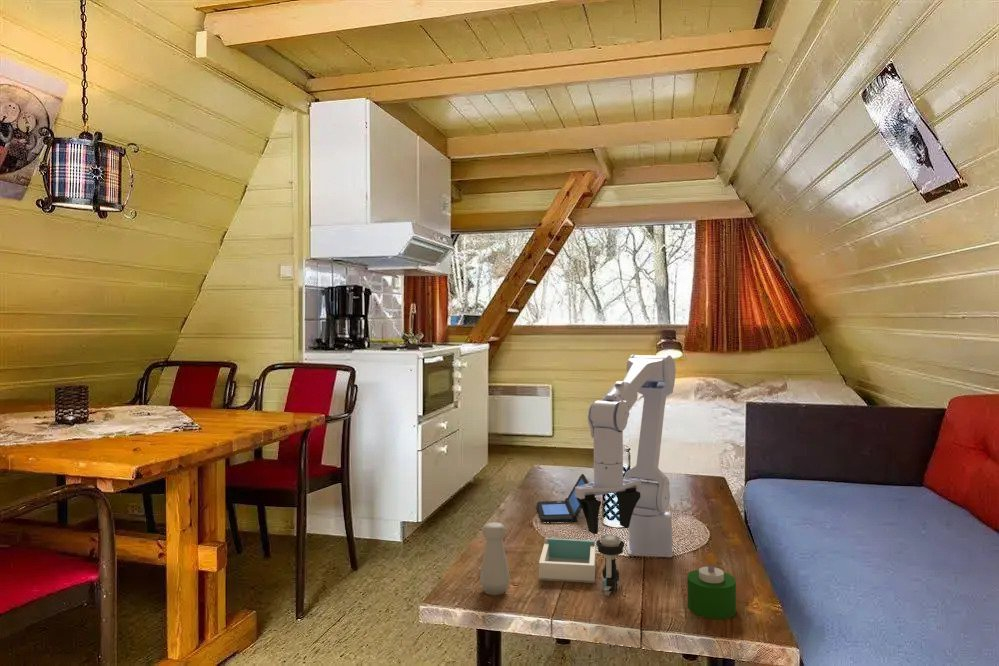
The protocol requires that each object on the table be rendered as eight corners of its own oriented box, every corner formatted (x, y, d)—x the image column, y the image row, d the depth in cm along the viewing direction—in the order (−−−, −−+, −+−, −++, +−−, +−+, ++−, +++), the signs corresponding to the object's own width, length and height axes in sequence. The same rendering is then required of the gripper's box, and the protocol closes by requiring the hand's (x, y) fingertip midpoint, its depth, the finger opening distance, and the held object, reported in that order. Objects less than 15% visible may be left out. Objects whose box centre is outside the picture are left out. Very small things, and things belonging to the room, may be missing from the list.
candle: (746, 615, 111) (745, 559, 110) (705, 622, 108) (705, 565, 108) (717, 595, 119) (716, 542, 118) (678, 601, 116) (678, 548, 116)
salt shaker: (481, 584, 125) (480, 519, 125) (509, 584, 125) (508, 519, 125) (479, 597, 119) (478, 529, 119) (509, 597, 119) (508, 529, 119)
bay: (595, 561, 136) (595, 545, 136) (594, 583, 125) (594, 565, 125) (544, 559, 138) (544, 543, 137) (539, 580, 127) (539, 562, 127)
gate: (594, 558, 137) (594, 540, 136) (594, 560, 136) (594, 541, 136) (544, 555, 139) (544, 537, 139) (544, 557, 138) (544, 539, 138)
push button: (620, 599, 117) (619, 546, 117) (592, 595, 119) (591, 543, 119) (627, 585, 123) (626, 535, 123) (600, 581, 125) (599, 531, 125)
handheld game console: (536, 506, 177) (535, 473, 177) (583, 505, 177) (583, 472, 177) (541, 524, 161) (540, 489, 161) (593, 523, 161) (592, 487, 161)
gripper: (625, 453, 132) (625, 518, 132) (566, 461, 125) (567, 529, 125) (647, 460, 125) (647, 528, 126) (586, 468, 119) (587, 540, 119)
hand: (608, 529), depth 125 cm, fingers open, 7 cm apart
